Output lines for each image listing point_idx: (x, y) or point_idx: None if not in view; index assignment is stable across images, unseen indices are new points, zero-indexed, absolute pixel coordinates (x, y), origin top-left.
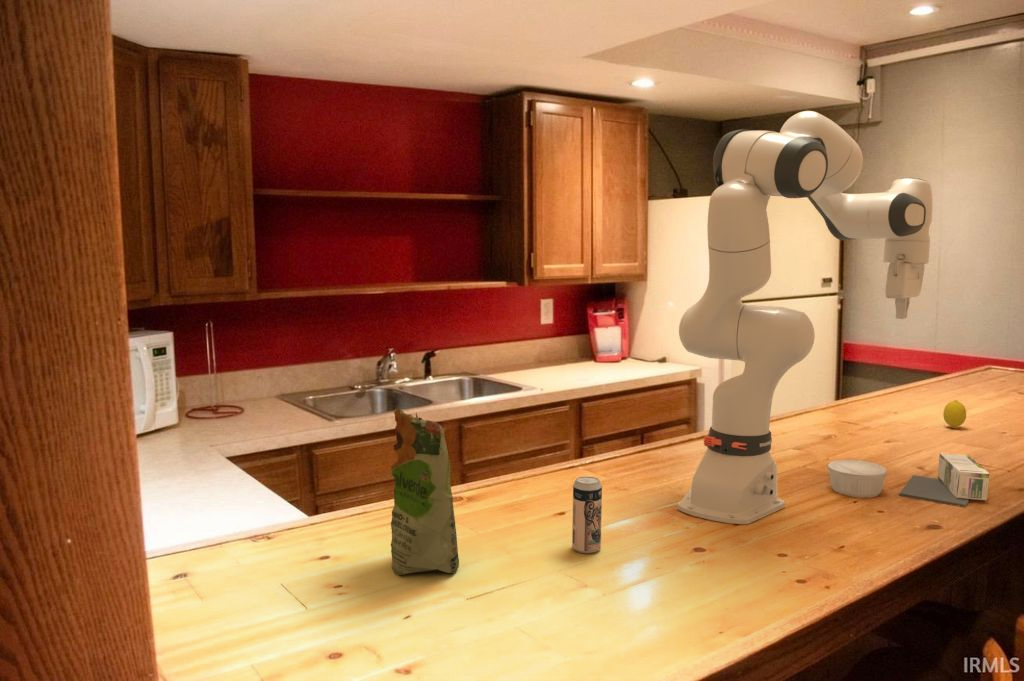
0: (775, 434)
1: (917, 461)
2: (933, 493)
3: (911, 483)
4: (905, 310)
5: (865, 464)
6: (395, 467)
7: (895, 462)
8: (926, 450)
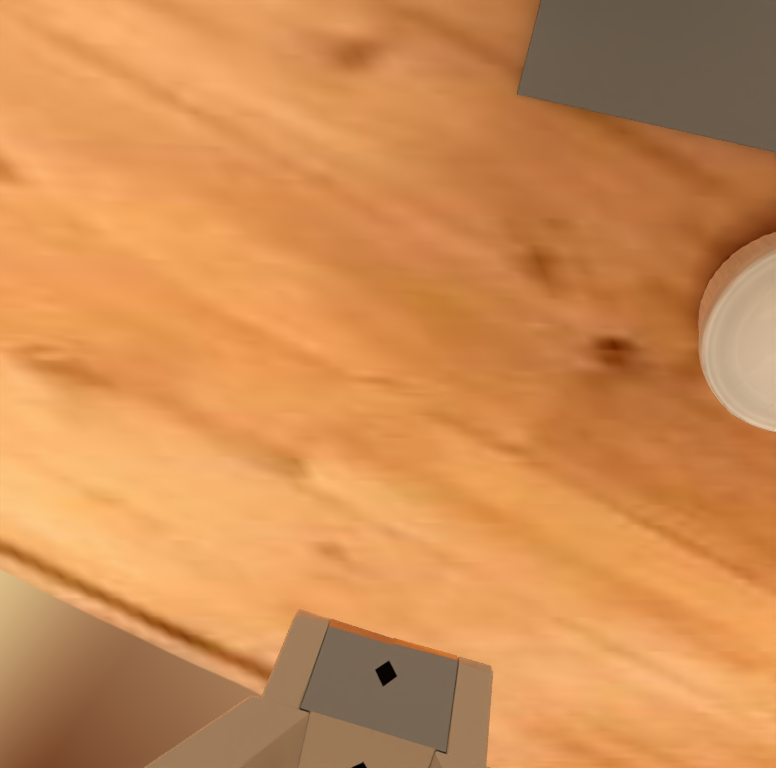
0: (137, 520)
1: (252, 61)
2: None
3: (656, 107)
4: (466, 764)
5: (764, 311)
6: None
7: (313, 150)
8: (40, 11)
